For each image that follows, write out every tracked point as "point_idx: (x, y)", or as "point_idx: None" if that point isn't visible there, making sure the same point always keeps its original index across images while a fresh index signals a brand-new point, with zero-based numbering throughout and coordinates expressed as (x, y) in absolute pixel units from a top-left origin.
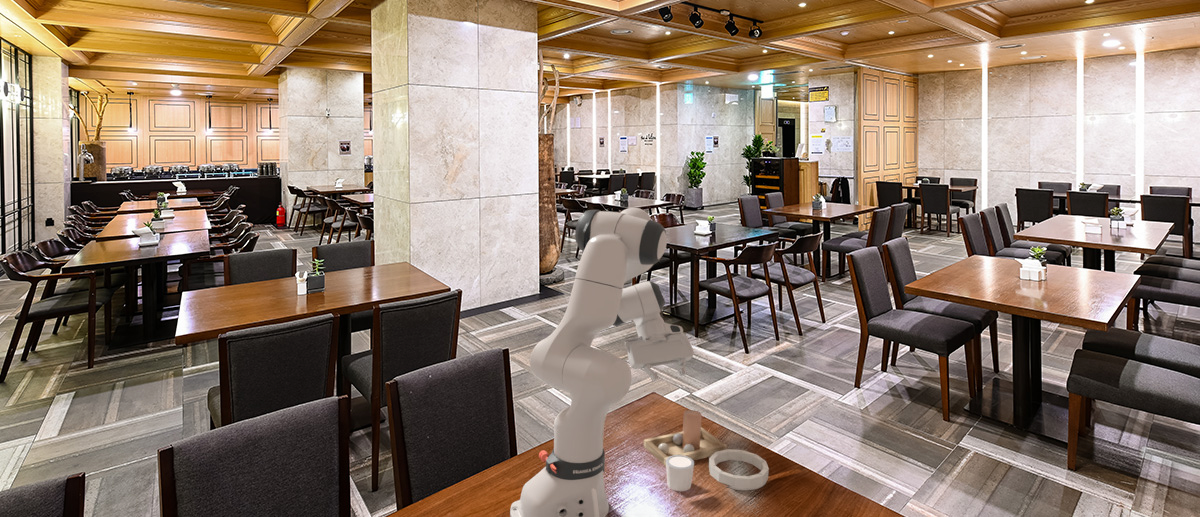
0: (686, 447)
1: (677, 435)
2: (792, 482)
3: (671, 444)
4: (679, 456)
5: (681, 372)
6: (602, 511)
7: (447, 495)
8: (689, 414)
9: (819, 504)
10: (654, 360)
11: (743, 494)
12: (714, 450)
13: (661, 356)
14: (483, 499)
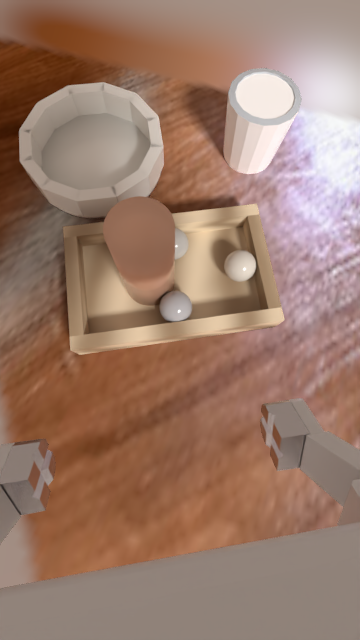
0: (183, 234)
1: (181, 298)
2: (3, 112)
3: (195, 314)
4: (256, 117)
5: (41, 452)
6: None
7: None
8: (154, 225)
9: (10, 47)
10: (339, 542)
11: None
12: None
13: (228, 620)
14: None
